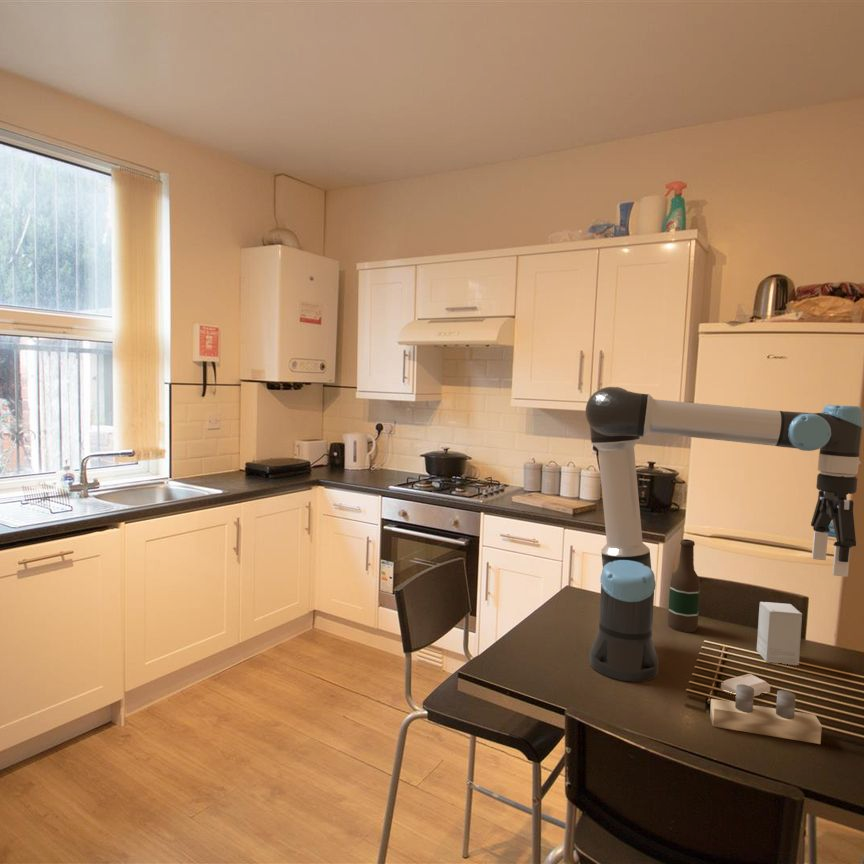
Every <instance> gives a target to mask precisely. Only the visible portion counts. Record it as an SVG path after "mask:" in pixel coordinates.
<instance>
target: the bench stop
mask: <svg viewBox="0 0 864 864" xmlns="http://www.w3.org/2000/svg"><path fill="white" fill-rule="evenodd" d="M796 697H797V696H796V694H795V693H793V692H791V691H788V690H784V689H783V690H782V689H781V690H777V692H776V702H775V703H776V706H775V707H776V708H773V707H767V706H761V705H754V700H755V699H754V698H755V696H754V689H753V688H752V687H750V686H748V685H743V684H739V685H737V686H736V697H735V701H730V700H729V701H728V700H722V699H715V698H710V708H709V709H710V710H709V712H710V713H709V718H710V720H711V724H712V727H715V728H719V729H720V728H721V729H728V730H733V731H738V732H739V731H740V732H745V733H746V732H747V733H751V734H758V735H764V736H770V737H775V738H782V739H786V740H787V739H788V740H792V741H801V742H805V743H810V744H811V743H812V744H816V745H817V744H818V745H821V743H822V742H821V741H822V727H823V726H822V725H823V724H821V722H820V720H819V719H818V718H817V716H816V715H815V714H812V713H808V712H800V711H795V710H796V699H797V698H796Z"/></svg>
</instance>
